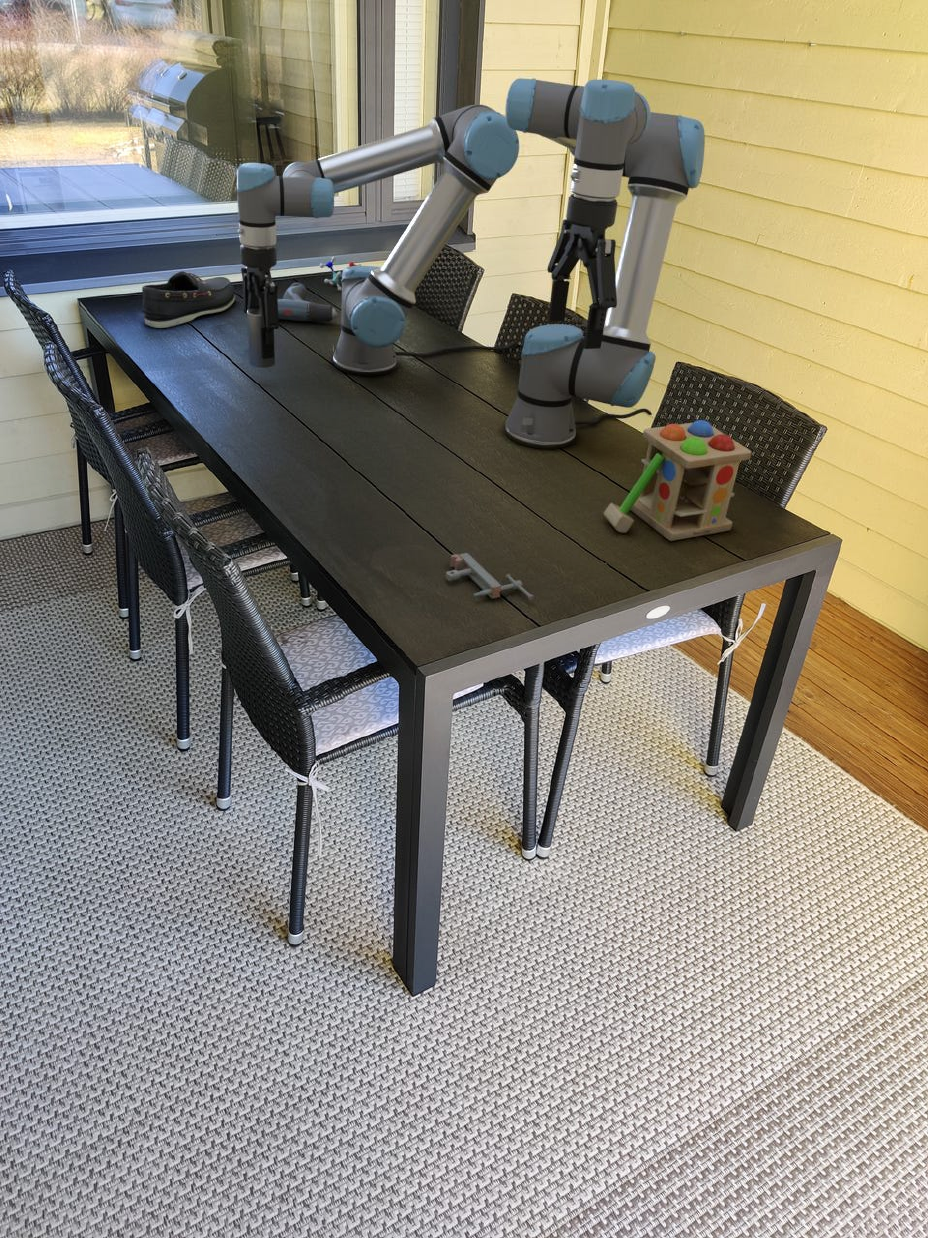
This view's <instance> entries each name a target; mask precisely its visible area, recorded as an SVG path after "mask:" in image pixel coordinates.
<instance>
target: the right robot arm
mask: <svg viewBox="0 0 928 1238" xmlns="http://www.w3.org/2000/svg"><path fill="white" fill-rule="evenodd" d="M635 88H636V87H635V86H634V85H633V84H631V83H629V82H626V81H620V80H613V79H594V78H593V79H590V80H588V81H587V82H586V83H585V84H584V85H578V84H577V85H573V84H572V85H571V84H566V83H560V82H555V81H554V82H553V81H547V80H542V79H541V80H540V79H536V78H522V77H521V78H516V79H515V80H513V82H511V85H510V86H509V88H508V91H507V94H506V95H507V96H506V100H505V106H504V107H505V109H504V112H505V113H504V116H505V117H506V122H507V124H508V126H509V127H510V128H511V129H513V130H516V132H517V131H518V132H522V134H527V133H528V134H533V135H534V134H535V135H538V136H541V137H542V138H546V139H547V140H550V141H552V142H554V143H556V144H559V145H560V146H562V147H563V146H564V147H565V148H567V149H568V150H569V152H570V153H571V154H572V156H573V164H572V165H573V166H572V172H570V174H569V175H570V179H571V181H570V186H569V187H570V188H569V189H570V191H571V193H572V194H570V196H569V197H568V201H567V207H566V208H567V209H566V215H565V219H563V220H562V224H561V229H560V233H559V235H558V238H557V241H556V244H555V246H554V249H553V251H552V254H551V257H550V260H549V262H548V265H547V269H546V270H547V273H551V277H550V278H551V280H552V286H551V293H550V302H549V308H548V309H549V310H548V316H547V321H548V322H565V318H566V310H567V305H568V304H567V303H568V297H569V289H570V284H571V283H570V281H569V280H572V277H571V274H572V272H573V271H574V269H575V267H576V266H577V264H578V263H579V261H580V262H582V265H583V267H584V268H585V269H586V273H587V279H588V284H589V290H590V296H591V301H592V302H591V304H590V305H589V306H588V308H589V309H588V314H587V321H586V328H585V334H584V333H583V330H582V329H581V328H580V327H577V326H575V325H571V324H561V323H553V324H544V325H539V326H536V327H534V328H531V329H530V330H529V331H528V332H527V333H526V334H525V336H524V340H523V341H524V342H523V346H522V350H521V361H520V371H519V380H518V389H517V395H516V399H515V401H514V403H513V406H512V408H511V410H510V412H509V414H508V416H507V418H506V421H505V425H504V433H505V435H506V436H507V437H508V439H510V440H511V441H513V442H514V443H517V444H519V445H521V446H526V447H530V448H534V449H541V450H542V449H543V450H554V449H555V450H556V449H562V448H566V447H568V446H570V445H572V444H573V443H574V442H575V440H576V433H577V427H576V426H580V425H585V426H586V425H589V426H590V425H596V424H598V422H600V420H602V419H604V418H607V419H608V418H610V419H619V420H620V419H629V418H631V417H634V416H636V415H639V414H641V413H645V414H647V415H648V416H652V415H653V413H652V412H651V411H650V409H648V408H639V409H636V410H633V411H631V412H629V413H625V414H615V413H601V414H599V415H597V416H596V418H595V419H594V420H575V417H574V410H573V399H574V398H573V397H575V398H579V399H584V400H588V401H592V402H597V403H602V404H604V405H605V404H606V405H610V407H621V408H628V409H631V408H633V407H635V406H637V404H638V403H639V402H640V400H641V399H642V398H643V395H644V393H645V392H646V389H647V387H648V385H649V382H650V379H651V377H652V375H653V371H654V367H655V363H656V357H657V356H656V353H654V352H653V351H650V350H651V345H652V341H651V340H650V338H649V336H648V334H647V330H648V326H649V322H650V317H651V313H652V309H653V304H654V301H655V297H656V292H657V288H658V283H659V279H660V276H661V272H662V267H663V263H664V259H665V255H666V252H667V247H668V243H669V239H670V234H671V230H672V226H673V222H674V218H675V213H676V209H677V207H678V206H679V204H681V203H682V202H684V201H685V200H687V198H688V194H689V190H690V189H691V190H693V189H697V188H698V186H699V185H700V180H701V177H702V173H703V167H704V159H705V144H706V143H705V141H706V137H705V135H706V134H705V128H704V125H703V123H702V121H700V120H699V119H696V118H692V117H687V116H684V115H683V116H682V115H681V114H678V115H677V114H670V113H669V114H668V113H662V112H653V111H651V108H650V104H649V102H648V100H647V98H645V96H644V95H643V94H642V93H640V92H639V91H636V89H635ZM622 178H628V181H627V186H626V188H627V189H628V191H629V194H630V195H631V197H632V200H631V203H630V208H629V212H628V216H627V222H626V225H625V229H624V234H623V239H622V242H621V243H622V244H621V247H620V252H619V255H618V259H617V265H616V263H615V262H616V261H615V259H616V257H615V255H616V244H617V241H616V240H615V238H613V239H607V238H606V230H607V229H608V228H611V227H613V226H614V225H615V222H616V216H617V215H616V214H617V209H618V201H617V199H616V198H618V197H619V196H620V193H621V187H622V181H623V180H622ZM583 337H584V338H583Z"/></svg>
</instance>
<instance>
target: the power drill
mask: <svg viewBox="0 0 928 1238" xmlns="http://www.w3.org/2000/svg"><path fill="white" fill-rule="evenodd" d="M307 295H308V290H307V287H306V285H304V284H303V283H301V282H293V283H292V284H291V285H290V286H289V287H288V288H287V289H286V291H285V292H284V294H283V297H282V298H277V299H278V320H283V321H294V322H295V321H297V322H332V321H333V320H334V319H336V318H337V317H338V312H337V311H336V308H334V307H333V306H332V305H331V304H324V303H317V302H313V301H307V300H305V299H306V297H307Z"/></svg>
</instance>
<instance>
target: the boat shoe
mask: <svg viewBox="0 0 928 1238" xmlns="http://www.w3.org/2000/svg"><path fill="white" fill-rule="evenodd" d="M141 292H142V299H143V300H142V307H143V308H141V312H142V313H143V314H144V324H145V325H146V326H148V327H151V328H157V329H165V328H171V327H174V326H178V325H181V324H185V323H189V322H191V321H193V320H195V318H197V317H200V316H204V315H208V314H214V313H219V312H223V311H225V310H227V309H229V308H230V307H231V306H232V305H233V303H234V302H235V300H236V292H235V290H234V286H233V283H232V282H231V280H230V279H229V278H227V277H225V276H216V277H211V278H206V279H202V278H201V277H200V276H198V275H196V274H195V273H191V272H187V271H183V270H182V271H179V272H176V273H174V274H173V275H172V276H171V277H170V278H169V279H168V280H167V282H166V283H158V284H145V285H143V286H142V287H141Z"/></svg>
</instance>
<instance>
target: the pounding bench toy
mask: <svg viewBox="0 0 928 1238" xmlns="http://www.w3.org/2000/svg"><path fill="white" fill-rule="evenodd" d="M642 438H643V440H645V441H646V442H648V446H647V450H646V455H645V458H642V459H641V463H643V464H644V465H643V469H642V474H641V475H640V477H639V478H638V480H637V481H636V483H635V484H634V486H633V488H632V489H631V490H630V492H629V493H628V495H627V496H626V498H625V499H624V501H623V502H622V503H621V505H620V506H619V505H617V504H615V503H613V502H610V503H609V504H608V505H607V507H606V509H605V510H604V512H603V517H604V518H605V519H606V520H607V521H608V522H609V524H610V525H611V526H612V527H613V528H614V529H615V530H616V531H617V532H618V533H621V534H623V533H624V534H625V533H627V532H628V531H629V530H630V529H631V527H632V526H633V524H634V523H635V521H634V519H633V518H632V516H630V515H629V512H630V511H631V512H632V513H634V515H636V516H638V518H640V519H641V520H642V521H644V522H645V523H646V524H648V525H649V526H650V527H652V529H654V530H655V531H656V532H658V533H659V534H661V536H663V537H664V538H666V539H667V540H668V541H670V542H673V541H680V540H684V539H690V538H695V537H702V536H707V535H712V534H717V533H724V532H728V531H731V529H732V527H733V521H732V520H731V519H729V518H728V517H727V512H728V509H729V505H730V501H731V498H732V497H733V498H734V497H735V493H734V492H733V490H734V487H735V486H734V485H735V482H736V479H737V474H738V470H739V466H740V462H743V461H749V460H750V459H751V457H752V453H753V452H752V450H750V449H749V448H747V447H745V446H743V444H741V443H739V442H738V441H736V440H734V439H733V438H732V437H731V436H729V435H728V434H725V433H724V432H722V431H721V430H719V429H717V428H716V427H714V426H712V425H711V423H710V422H708V421H706V420H703V419H698V420H696V421H694V422H688V423H680V424H679V423H678V424H677V423H669V424H666V425H664V426H655V427H650V428H649V427H648V428H644V429H643V432H642Z"/></svg>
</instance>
